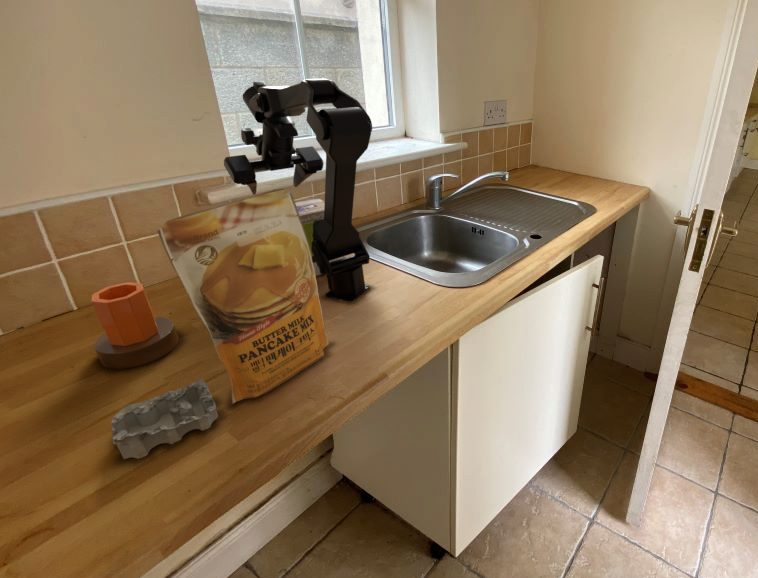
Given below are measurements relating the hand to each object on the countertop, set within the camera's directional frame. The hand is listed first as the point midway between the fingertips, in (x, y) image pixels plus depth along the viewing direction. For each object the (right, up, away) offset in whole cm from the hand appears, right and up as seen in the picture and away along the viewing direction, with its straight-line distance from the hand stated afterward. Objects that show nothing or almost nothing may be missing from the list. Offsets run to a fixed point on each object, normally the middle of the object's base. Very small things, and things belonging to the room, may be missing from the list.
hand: (274, 189), depth 105 cm
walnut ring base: (-4, -31, -31) cm, 44 cm away
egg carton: (+12, -39, -45) cm, 61 cm away
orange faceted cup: (-4, -29, -32) cm, 43 cm away
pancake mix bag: (+21, -34, -34) cm, 52 cm away
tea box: (+9, -19, -4) cm, 22 cm away
